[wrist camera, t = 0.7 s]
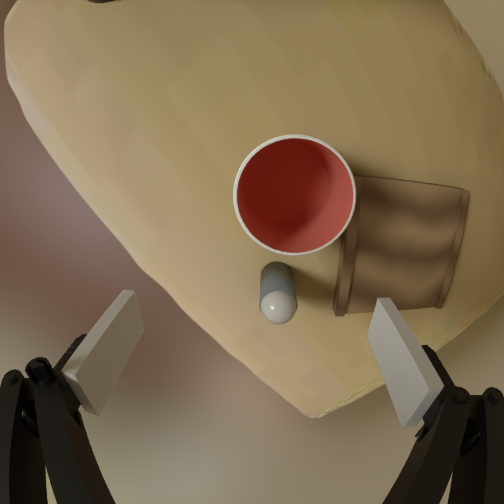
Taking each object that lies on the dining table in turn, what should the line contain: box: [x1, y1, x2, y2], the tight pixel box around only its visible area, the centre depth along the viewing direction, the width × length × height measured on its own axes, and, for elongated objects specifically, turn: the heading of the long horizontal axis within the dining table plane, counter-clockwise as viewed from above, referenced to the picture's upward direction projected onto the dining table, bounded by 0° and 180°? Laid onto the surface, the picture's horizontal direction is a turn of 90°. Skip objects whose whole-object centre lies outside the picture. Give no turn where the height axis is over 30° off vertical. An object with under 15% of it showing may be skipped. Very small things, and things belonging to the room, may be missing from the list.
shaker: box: [260, 262, 297, 324], centre depth 31 cm, size 4×4×9 cm
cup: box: [233, 134, 356, 256], centre depth 26 cm, size 10×10×10 cm
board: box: [333, 175, 469, 316], centre depth 32 cm, size 18×18×2 cm
